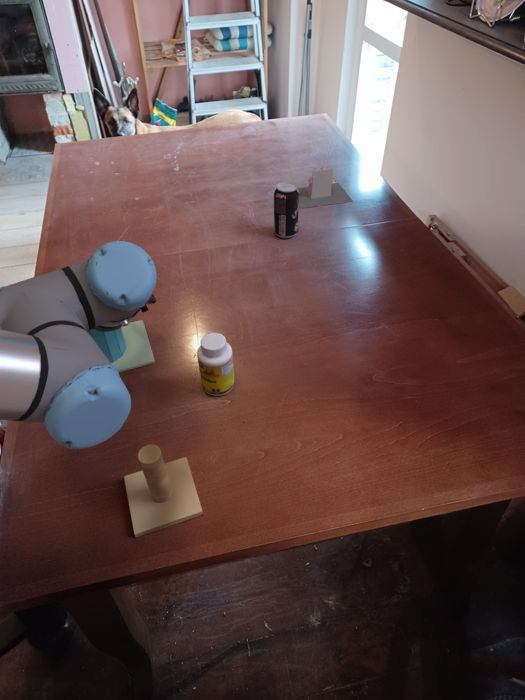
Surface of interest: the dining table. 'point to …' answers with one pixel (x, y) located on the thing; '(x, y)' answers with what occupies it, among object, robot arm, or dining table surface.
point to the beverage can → (286, 210)
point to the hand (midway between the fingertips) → (93, 326)
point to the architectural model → (322, 190)
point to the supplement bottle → (216, 364)
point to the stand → (160, 492)
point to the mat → (135, 348)
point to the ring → (110, 343)
